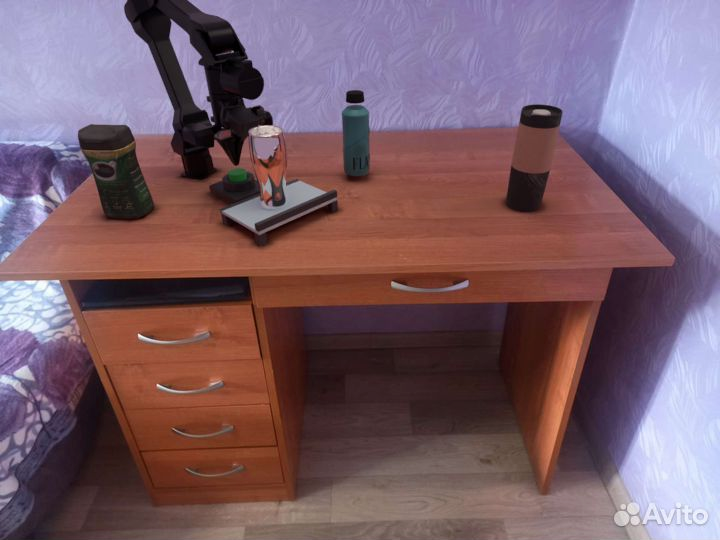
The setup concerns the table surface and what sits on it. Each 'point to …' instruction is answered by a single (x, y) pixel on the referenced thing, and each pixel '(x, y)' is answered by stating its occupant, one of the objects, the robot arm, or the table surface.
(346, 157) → the beverage bottle
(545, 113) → the travel mug
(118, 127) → the coffee jar
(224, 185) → the control box
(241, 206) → the shelf
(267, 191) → the beer glass
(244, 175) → the button
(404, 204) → the table surface
